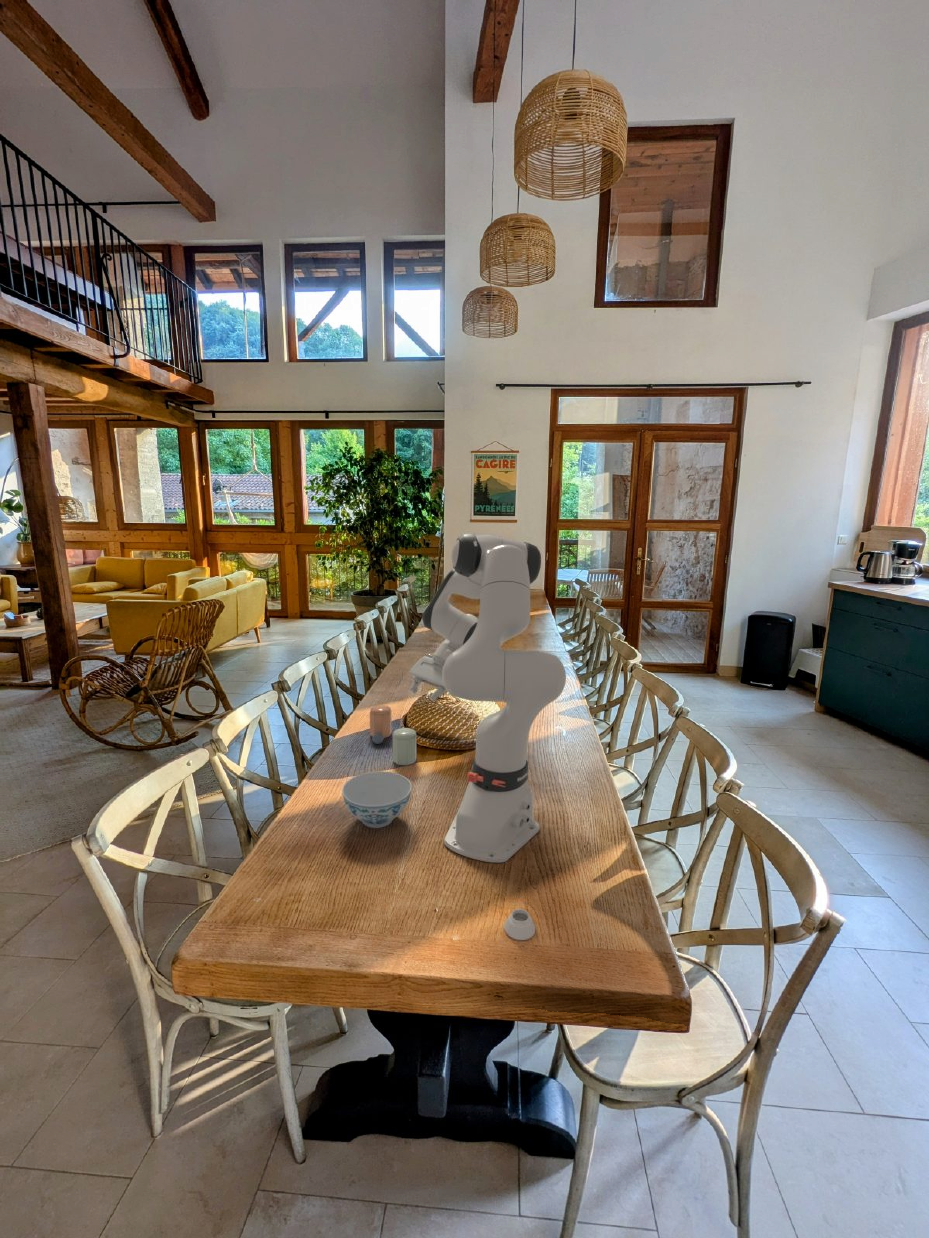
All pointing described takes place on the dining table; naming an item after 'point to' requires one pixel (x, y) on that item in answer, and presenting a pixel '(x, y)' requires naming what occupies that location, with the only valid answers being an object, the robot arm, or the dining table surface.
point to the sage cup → (404, 746)
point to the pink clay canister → (380, 720)
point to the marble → (377, 738)
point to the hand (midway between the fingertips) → (421, 695)
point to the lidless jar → (520, 925)
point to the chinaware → (377, 797)
